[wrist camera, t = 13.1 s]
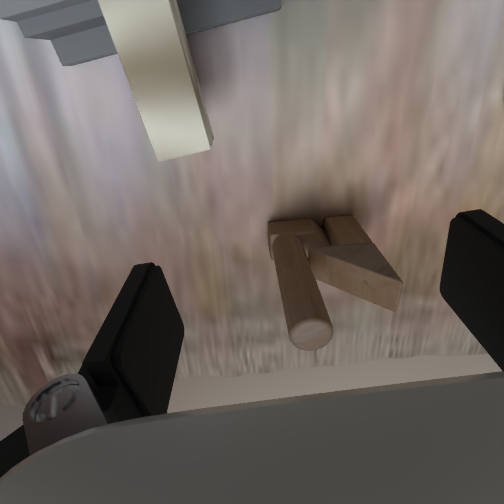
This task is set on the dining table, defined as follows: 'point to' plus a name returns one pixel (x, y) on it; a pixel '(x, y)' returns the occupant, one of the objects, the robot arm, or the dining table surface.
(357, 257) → the wooden block
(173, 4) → the birch bar
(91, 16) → the ridge block
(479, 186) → the dining table surface
